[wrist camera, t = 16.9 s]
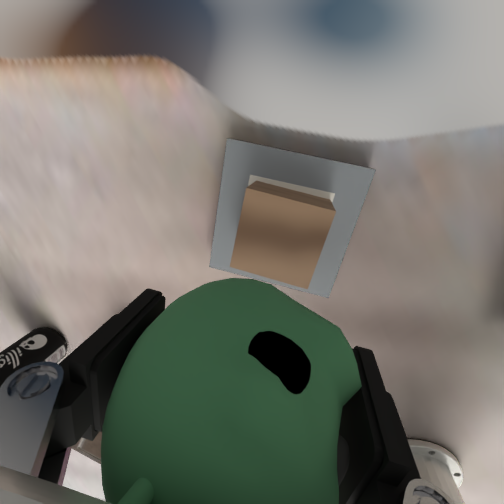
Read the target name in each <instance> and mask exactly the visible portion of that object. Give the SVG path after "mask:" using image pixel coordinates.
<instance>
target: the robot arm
mask: <svg viewBox="0 0 504 504" xmlns="http://www.w3.org/2000/svg"><path fill="white" fill-rule="evenodd" d="M164 310H165V297H164V296H162V293H161V292H159V291H156V290H152V289H146V290H145V291H144V292H142V293H141V294H140V295H139V296H138V297H137V298H136V299H135V300H134V301H132V302H131V303H130V304H129V305H128V306H127V307H126V308H125V309H124V310H123V311H121V312H120V313H119V314H116V315H114V316H113V317H111V318H110V319H109V320H108V321H107V322H106V323H105V324H103V325H102V326H101V327H100V328H99V329H98V330H97V331H96V332H94V333H93V334H92V335H91V336H90V337H89V338H88V339H87V340H85V341H84V342H83V343H82V344H81V345H80V346H79V347H78V348H76V349H75V350H74V351H73V352H72V353H71V354H70V355H68V356H67V357H66V358H65V359H64V360H63V361H62V362H61V363H59V364H57V363H54V362H38V363H33V364H30V365H27V366H25V367H23V368H21V369H19V370H17V371H15V372H14V373H13V374H12V375H10V376H9V377H8V378H7V379H6V380H5V381H4V383H3V384H2V385H1V387H0V504H111V503H108V502H105V501H102V500H100V499H97V498H94V497H91V496H89V495H86V494H83V493H80V492H77V491H75V490H72V489H69V488H66V487H64V486H62V484H63V480H64V476H65V472H66V468H67V464H68V460H69V455H70V451H71V447H72V446H73V445H75V444H77V442H78V441H79V440H80V438H81V437H82V438H85V439H88V440H90V441H93V440H94V439H95V437H96V436H97V434H98V433H99V432H102V428H103V423H104V418H105V413H106V409H107V405H108V402H109V399H110V396H111V393H112V390H113V388H114V385H115V383H116V380H117V378H118V376H119V373H120V371H121V369H122V367H123V365H124V363H125V360H126V358H127V356H128V354H129V352H130V351H131V349H132V348H133V346H134V344H135V343H136V341H137V340H138V338H139V337H140V336H141V335H142V333H143V332H144V331H145V329H146V328H147V327H148V326H149V325H150V324H151V323H152V322H153V321H154V320H155V319H156V318H157V317H158V316H159V315H160V314H161V313H162V312H163V311H164ZM352 350H353V353H354V356H355V359H356V362H357V366H358V371H359V376H360V380H361V385H362V387H361V388H360V389H359V390H358V391H357V392H356V393H355V394H354V395H353V396H352V397H351V398H350V399H349V400H348V402H347V403H346V404H345V405H344V406H343V408H342V415H341V422H340V429H339V435H341V436H342V437H343V438H344V439H345V440H346V442H347V443H348V446H349V452H350V461H349V466H348V469H347V472H346V474H345V476H344V478H343V480H342V482H341V483H340V485H339V504H465V503H464V501H463V498H462V496H461V494H460V492H459V489H458V488H459V486H460V485H461V483H462V481H463V471H462V468H461V466H460V464H459V462H458V460H457V459H456V457H455V456H454V455H453V454H452V453H451V452H449V451H448V450H446V449H445V448H443V447H441V446H439V445H437V444H434V443H431V442H427V441H422V440H414V439H407V437H406V434H405V432H404V429H403V426H402V423H401V420H400V417H399V415H398V412H397V409H396V406H395V403H394V400H393V398H392V396H391V394H390V393H389V392H386V390H385V387H384V384H383V381H382V378H381V375H380V372H379V369H378V366H377V363H376V360H375V357H374V354H373V352H372V350H369V349H366V348H362V347H358V346H356V347H354V349H352Z"/></svg>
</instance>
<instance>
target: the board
mask: <svg viewBox="0 0 504 504" xmlns="http://www.w3.org/2000/svg"><path fill="white" fill-rule="evenodd" d="M375 171H376V170H375V169H372V168H368V167H364V166H359V165H354V164H350V163H345V162H340V161H335V160H331V159H326V158H321V157H316V156H312V155H307V154H302V153H297V152H293V151H288V150H283V149H278V148H274V147H269V146H264V145H259V144H255V143H250V142H245V141H241V140H236V139H229V138H227V143H226V150H225V158H224V165H223V172H222V179H221V186H220V194H219V201H218V208H217V215H216V223H215V230H214V237H213V244H212V251H211V259H210V266H209V267H211V268H215V269H219V270H223V271H227V272H231V273H234V274H238V275H242V276H246V277H250V278H253V279H257V280H261V281H265V282H269V283H273V284H276V285H280V286H284V287H288V288H292V289H296V290H299V291H303V292H307V293H311V294H315V295H319V296H322V297H326V298H329V295H330V293H331V290H332V287H333V284H334V282H335V279H336V276H337V274H338V271H339V268H340V265H341V263H342V260H343V257H344V255H345V252H346V249H347V246H348V244H349V241H350V238H351V236H352V233H353V230H354V228H355V225H356V222H357V219H358V217H359V214H360V211H361V209H362V206H363V203H364V200H365V198H366V195H367V192H368V190H369V187H370V184H371V181H372V179H373V176H374V173H375ZM256 180H257V181H260V182H264V183H268V184H272V185H276V186H280V187H284V188H287V189H291V190H295V191H299V192H303V193H307V194H310V195H314V196H318V197H322V198H326V199H330V200H331V202H332V204H333V206H334V208H335V210H336V213H335V216H334V219H333V221H332V224H331V227H330V230H329V232H328V235H327V238H326V241H325V243H324V246H323V249H322V252H321V254H320V257H319V260H318V262H317V265H316V268H315V271H314V273H313V276H312V279H311V282H310V284H309V287H308V289H304V288H301V287H297V286H294V285H290V284H287V283H284V282H280V281H277V280H273V279H270V278H266V277H263V276H259V275H256V274H253V273H249V272H246V271H242V270H239V269H235V268H232V267H230V262H231V257H232V253H233V248H234V243H235V239H236V234H237V229H238V224H239V220H240V215H241V210H242V205H243V201H244V196H245V191H246V188H247V187H248V186H249V185H251V184H252V183H254V182H255V181H256Z"/></svg>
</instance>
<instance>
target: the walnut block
mask: <svg viewBox="0 0 504 504" xmlns="http://www.w3.org/2000/svg"><path fill="white" fill-rule="evenodd" d="M335 213H336V210H335V208H334V206H333V204H332V202H331V200H330V199H326V198H322V197H318V196H314V195H310V194H307V193H303V192H299V191H295V190H291V189H287V188H284V187H280V186H276V185H272V184H268V183H264V182H260V181H257V180H256V181H255V182H254V183H252V184H251V185H249V186H248V187H247V188H246V191H245V196H244V201H243V205H242V210H241V215H240V220H239V224H238V229H237V234H236V239H235V243H234V248H233V253H232V257H231V262H230V267H232V268H235V269H239V270H242V271H246V272H249V273H253V274H256V275H259V276H263V277H266V278H270V279H273V280H277V281H280V282H284V283H287V284H290V285H294V286H297V287H301V288H304V289H308V287H309V284H310V282H311V279H312V276H313V273H314V271H315V268H316V265H317V262H318V260H319V257H320V254H321V252H322V249H323V246H324V243H325V241H326V238H327V235H328V232H329V230H330V227H331V224H332V221H333V219H334V216H335Z"/></svg>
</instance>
